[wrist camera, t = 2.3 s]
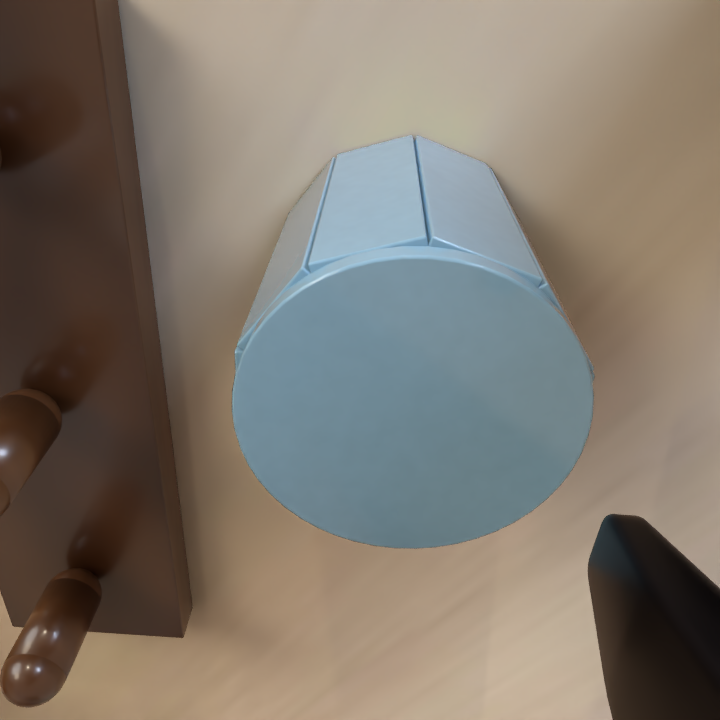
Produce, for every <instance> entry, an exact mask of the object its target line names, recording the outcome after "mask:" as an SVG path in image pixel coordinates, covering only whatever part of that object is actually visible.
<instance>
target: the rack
mask: <svg viewBox="0 0 720 720" xmlns="http://www.w3.org/2000/svg"><path fill="white" fill-rule="evenodd" d="M0 591H1V594H2V597H3V600H4V603H5V605H6V608H7V611H8V614H9V617H10V620H11V622H12V625H13V626H14V627H24V628H23V630H22V631H21V633H20V635H19V637H18V639H17V640H16V642H15V644H14V646H13V648H12V650H11V651H10V653H9V655H8V657H7V659H6V661H5V663H4V665H3V667H2V669H1V674H0V686H1V690H2V693H3V694H4V696H5V697H6V699H7V700H8V701H10V702H11V703H13V704H14V705H17V706H20V707H35V706H39V705H42V704H44V703H46V702H48V701H49V700H50V699H52V698H53V697H54V696H55V695H56V694H57V693H58V692H59V691H60V689H61V688H62V686H63V684H64V683H65V681H66V678H67V676H68V674H69V672H70V669H71V667H72V665H73V663H74V661H75V658H76V656H77V654H78V652H79V649H80V647H81V645H82V643H83V641H84V638H85V636H86V634H87V632H102V633H117V634H132V635H146V636H161V637H176V638H183V637H184V634H185V631H186V628H187V624H188V621H189V618H190V614H191V611H192V600H191V592H190V583H189V575H188V567H187V559H186V551H185V543H184V535H183V527H182V519H181V510H180V502H179V494H178V486H177V478H176V470H175V462H174V454H173V446H172V437H171V429H170V421H169V413H168V405H167V397H166V389H165V381H164V373H163V364H162V356H161V348H160V340H159V332H158V324H157V316H156V308H155V300H154V291H153V283H152V275H151V267H150V259H149V251H148V243H147V235H146V226H145V218H144V210H143V202H142V194H141V186H140V178H139V170H138V162H137V153H136V145H135V137H134V129H133V121H132V113H131V105H130V97H129V89H128V80H127V72H126V64H125V56H124V48H123V40H122V32H121V24H120V16H119V7H118V0H0Z"/></svg>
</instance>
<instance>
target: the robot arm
mask: <svg viewBox="0 0 720 720" xmlns="http://www.w3.org/2000/svg"><path fill="white" fill-rule="evenodd" d="M588 580H589V586H590V592H591V599H592V605H593V611H594V618H595V624H596V631H597V637H598V643H599V650H600V656H601V662H602V669H603V675H604V681H605V686H606V692H607V698H608V702H609V706H610V710H611V714H612V718H613V720H720V588H719V587H718V586H717V585H716V584H714V583H713V582H712V581H711V580H710V579H709V578H708V577H707V576H706V575H705V574H704V573H702V572H701V571H700V570H699V569H698V568H697V567H696V566H695V565H694V564H693V563H692V562H691V561H689V560H688V559H687V558H686V557H685V556H684V555H683V554H682V553H681V552H680V551H679V550H677V549H676V548H675V547H674V546H673V545H672V544H671V543H670V542H669V541H668V540H667V539H666V538H664V537H663V536H662V535H661V534H660V533H659V532H658V531H657V530H656V529H655V528H654V527H652V526H651V525H650V524H649V523H648V522H647V521H646V520H644V519H643V518H641V517H639V516H632V515H619V514H610V515H607V516H606V517H605V518H604V520H603V522H602V524H601V527H600V529H599V532H598V535H597V538H596V541H595V543H594V546H593V549H592V552H591V555H590V558H589V562H588Z"/></svg>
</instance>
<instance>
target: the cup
mask: <svg viewBox="0 0 720 720" xmlns="http://www.w3.org/2000/svg"><path fill="white" fill-rule="evenodd" d="M235 370H236V373H235V379H234V384H233V389H232V415H233V422H234V429H235V432H236V436H237V439H238V442H239V446H240V448H241V451H242V453H243V455H244V457H245V459H246V461H247V463H248V465H249V467H250V468H251V470H252V471H253V473H254V474H255V476H256V477H257V479H258V480H259V482H260V483H261V484H262V485H263V486H264V487H265V488H266V490H267V491H268V492H269V493H270V494H271V495H272V496H273V497H274V498H275V499H276V500H277V501H279V502H280V503H281V504H282V505H283V506H284V507H285V508H287V509H288V510H290V511H291V512H292V513H294V514H295V515H297V516H298V517H299V518H301V519H303V520H304V521H306V522H308V523H310V524H312V525H313V526H315V527H317V528H319V529H322V530H324V531H326V532H329V533H331V534H333V535H336V536H339V537H342V538H345V539H348V540H351V541H355V542H359V543H364V544H369V545H373V546H381V547H389V548H410V549H418V548H432V547H440V546H447V545H453V544H458V543H462V542H466V541H469V540H473V539H477V538H480V537H482V536H485V535H488V534H490V533H493V532H496V531H498V530H500V529H502V528H504V527H506V526H508V525H510V524H512V523H514V522H516V521H517V520H519V519H520V518H522V517H524V516H525V515H527V514H528V513H530V512H531V511H533V510H534V509H535V508H536V507H538V506H539V505H540V504H541V503H543V502H544V501H545V500H546V499H547V498H548V497H549V496H550V495H551V494H552V493H553V492H554V491H555V490H556V489H557V488H558V487H559V486H560V485H561V484H562V483H563V481H564V480H565V479H566V477H567V476H568V475H569V473H570V472H571V471H572V469H573V467H574V466H575V464H576V462H577V460H578V459H579V457H580V455H581V453H582V451H583V448H584V446H585V443H586V440H587V438H588V435H589V431H590V426H591V422H592V417H593V405H594V391H593V380H594V377H595V375H594V372H593V370H594V366H593V364H592V362H591V360H590V358H589V356H588V355H587V353H586V351H585V349H584V347H583V345H582V343H581V341H580V339H579V337H578V335H577V333H576V331H575V329H574V327H573V325H572V323H571V321H570V319H569V317H568V315H567V313H566V311H565V309H564V307H563V305H562V303H561V301H560V299H559V297H558V295H557V293H556V291H555V289H554V287H553V285H552V283H551V281H550V279H549V277H548V275H547V273H546V271H545V269H544V267H543V265H542V263H541V261H540V259H539V257H538V255H537V253H536V251H535V249H534V248H533V246H532V244H531V242H530V240H529V238H528V236H527V234H526V232H525V230H524V228H523V226H522V224H521V222H520V220H519V218H518V217H517V215H516V213H515V211H514V209H513V207H512V205H511V204H510V202H509V200H508V198H507V196H506V194H505V192H504V191H503V189H502V187H501V185H500V183H499V181H498V179H497V178H496V176H495V174H494V172H493V170H492V168H489V167H488V165H487V164H486V163H484V162H481V161H479V160H476V159H474V158H471V157H469V156H467V155H464V154H462V153H459V152H457V151H455V150H452V149H450V148H447V147H445V146H442V145H440V144H438V143H435V142H433V141H430V140H428V139H426V138H423V137H421V136H418V135H417V136H416V137H415V139H413V136H412V135H409V136H405V137H401V138H397V139H393V140H390V141H386V142H382V143H378V144H374V145H371V146H367V147H363V148H359V149H355V150H352V151H348V152H344V153H340V154H338V155H337V157H336V158H334V157H333V158H332V159H331V160H330V161H329V163H328V164H327V165H326V166H325V168H324V169H323V170H322V171H321V173H320V174H319V175H318V177H317V178H316V179H315V180H314V182H313V183H312V184H311V186H310V187H309V188H308V189H307V191H306V192H305V193H304V194H303V196H302V197H301V198H300V200H299V201H298V202H297V203H296V205H295V206H294V207H293V208H292V210H291V211H290V212H289V214H288V217H287V219H286V222H285V224H284V227H283V229H282V232H281V234H280V237H279V239H278V242H277V244H276V247H275V250H274V252H273V255H272V257H271V260H270V262H269V265H268V267H267V270H266V272H265V275H264V277H263V280H262V282H261V285H260V288H259V290H258V293H257V295H256V298H255V300H254V303H253V305H252V308H251V310H250V313H249V315H248V318H247V320H246V323H245V325H244V328H243V331H242V333H241V336H240V338H239V341H238V343H237V347H236V350H235Z"/></svg>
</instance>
